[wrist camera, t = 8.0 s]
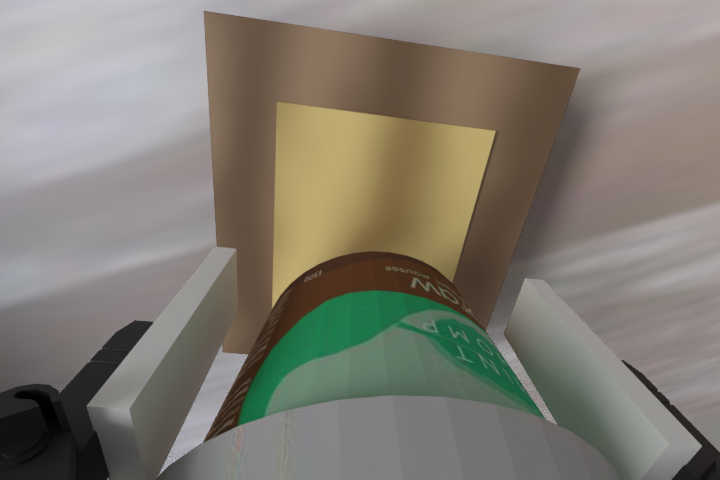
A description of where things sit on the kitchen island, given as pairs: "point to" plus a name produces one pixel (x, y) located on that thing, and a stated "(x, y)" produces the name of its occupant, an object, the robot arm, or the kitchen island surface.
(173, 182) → the kitchen island surface
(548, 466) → the food container
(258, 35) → the plate
